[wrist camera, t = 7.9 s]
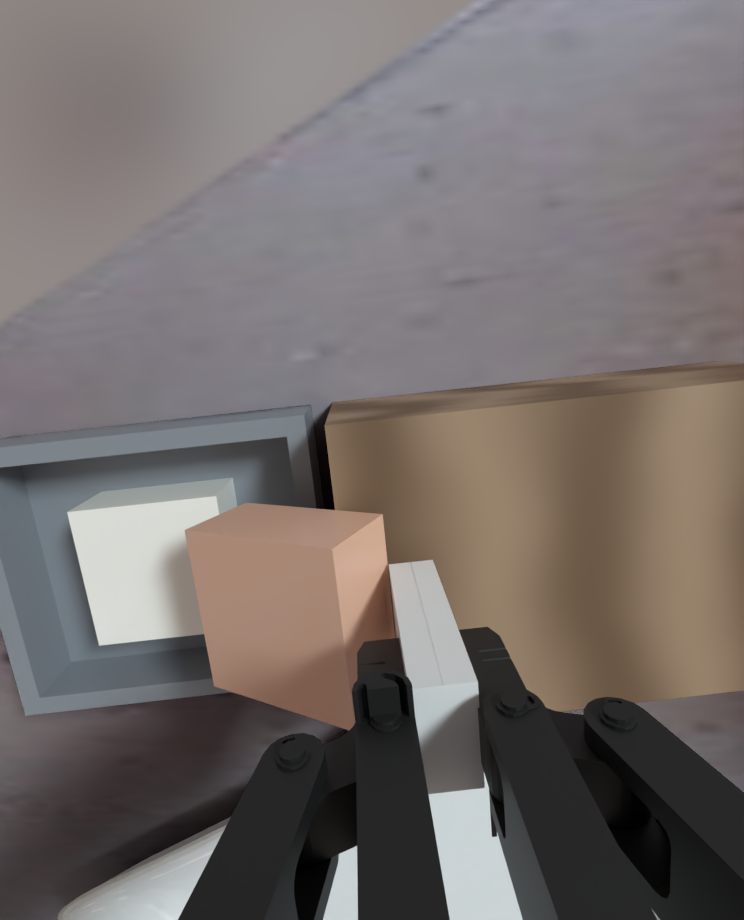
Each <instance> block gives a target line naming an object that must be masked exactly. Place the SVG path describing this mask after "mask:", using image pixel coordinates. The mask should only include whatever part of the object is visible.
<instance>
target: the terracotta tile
mask: <svg viewBox="0 0 744 920" xmlns="http://www.w3.org/2000/svg"><path fill="white" fill-rule="evenodd" d="M185 535H186V541H187V546H188V551H189V556H190V562H191V567H192V572H193V577H194V583H195V588H196V593H197V598H198V604H199V609H200V614H201V619H202V625H203V630H204V635H205V641H206V646H207V651H208V656H209V662H210V667H211V672H212V677H213V683H214V686H215V687H218V688H221V689H224V690H227V691H230V692H234V693H237V694H240V695H243V696H246V697H249V698H252V699H255V700H258V701H261V702H264V703H267V704H270V705H273V706H276V707H279V708H282V709H285V710H288V711H291V712H294V713H298V714H301V715H304V716H307V717H310V718H313V719H316V720H319V721H322V722H325V723H328V724H331V725H334V726H337V727H340V728H343V729H346V730H350V729H351V728H352V727H353V726H354V724H355V715H354V707H353V699H352V689H353V685H354V683H355V682H356V681H357V677H358V676H357V652H358V651H359V649H360V648H361V646H362V644H363V643H364V642H366V641H375V640H384V639H393V638H395V631H394V621H393V611H392V601H391V591H390V581H389V572H388V562H387V552H386V542H385V532H384V523H383V514H375V513H363V512H352V511H340V510H328V509H316V508H304V507H292V506H280V505H268V504H256V503H244V504H242V505H239V506H237V507H235V508H233V509H230V510H228V511H226V512H224V513H222V514H219V515H217V516H215V517H213V518H210V519H208V520H206V521H204V522H201V523H199V524H197V525H195V526H193V527H190V528H188V529H186V530H185Z"/></svg>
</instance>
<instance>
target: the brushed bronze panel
mask: <svg viewBox="0 0 744 920" xmlns="http://www.w3.org/2000/svg"><path fill="white" fill-rule="evenodd" d="M325 433H326V442H327V450H328V458H329V466H330V474H331V482H332V490H333V498H334V506H335V510H340V511H352V512H363V513H375V514H383V523H384V532H385V542H386V552H387V562H388V572H389V564H398V563H407V562H416V561H425V560H433V562H434V565H435V567H436V570H437V573H438V575H439V578H440V581H441V583H442V586H443V589H444V592H445V594H446V597H447V600H448V602H449V605H450V608H451V610H452V613H453V616H454V619H455V621H456V624H457V627H458V629H459V630H462V629H471V628H480V627H489V628H490V629H491V630H493V631H494V632H495V633H497V634H498V635H499V636H500V637H501V639H502V641H503V643H504V645H505V648H506V649H507V651H508V653H509V655H510V659H512V661H513V663H514V665H515V667H516V669H517V671H518V673H519V675H520V677H521V679H522V681H523V683H524V685H525V687H526V689H527V690H528V691H530V692H532V693H534V694H535V695H537V696H538V697H539V698H540V700H541V701H542V702H543V703H544V705H545V707H546V708H549V709H551V710H554V711H558V712H560V711H568V710H577V709H584V708H585V707H586V705H587V703H588V702H590V701H592V700H594V699H596V698H602V697H614V698H621V699H624V700H627V701H630V702H633V703H638V702H647V701H655V700H664V699H673V698H682V697H690V696H699V695H708V694H716V693H725V692H734V691H743V690H744V363H736V362H717V361H716V362H706V363H697V364H688V365H678V366H669V367H660V368H650V369H641V370H632V371H622V372H613V373H604V374H594V375H585V376H576V377H566V378H557V379H548V380H538V381H529V382H520V383H510V384H501V385H491V386H482V387H473V388H463V389H454V390H445V391H435V392H426V393H417V394H407V395H398V396H389V397H379V398H370V399H361V400H351V401H342V402H333V403H332V405H331V408H330V411H329V414H328V417H327V420H326V423H325ZM389 581H390V574H389ZM390 591H391V584H390ZM391 601H392V594H391ZM392 611H393V603H392ZM393 621H394V613H393ZM394 631H395V623H394ZM395 638H396V633H395Z"/></svg>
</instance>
